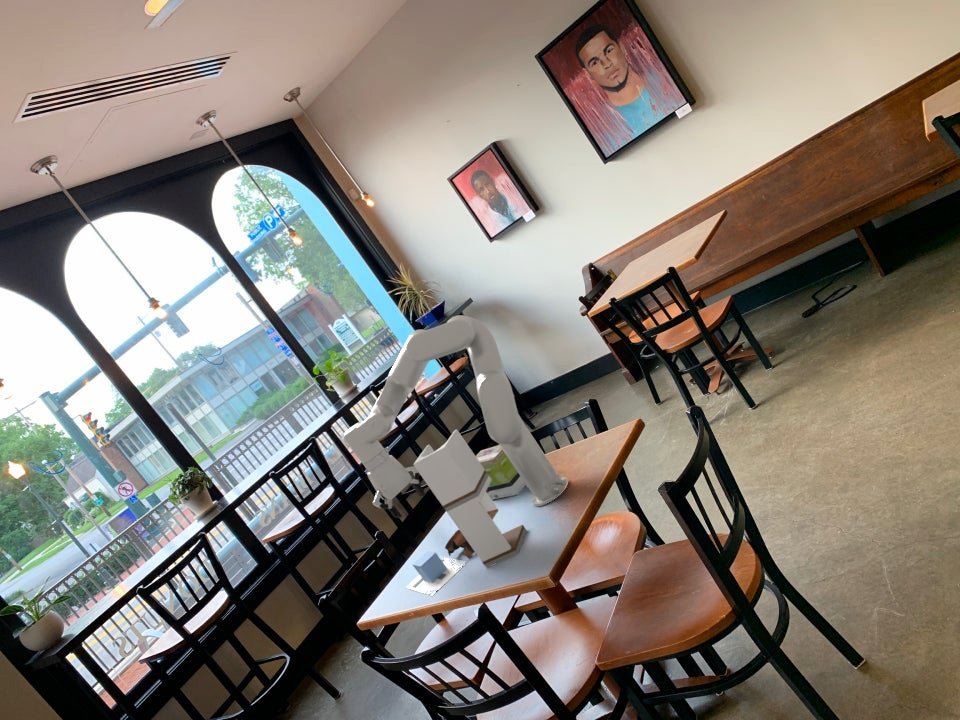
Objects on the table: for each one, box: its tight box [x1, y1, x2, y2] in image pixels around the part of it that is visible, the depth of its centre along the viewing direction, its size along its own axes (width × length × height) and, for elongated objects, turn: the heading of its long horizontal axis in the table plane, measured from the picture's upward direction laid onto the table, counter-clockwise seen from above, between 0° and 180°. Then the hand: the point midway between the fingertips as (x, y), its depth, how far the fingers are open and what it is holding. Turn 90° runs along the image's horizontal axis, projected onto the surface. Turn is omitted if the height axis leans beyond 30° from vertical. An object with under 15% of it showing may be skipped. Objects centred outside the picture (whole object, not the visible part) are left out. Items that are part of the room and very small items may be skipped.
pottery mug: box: [444, 529, 475, 559], centre depth 215 cm, size 12×10×8 cm
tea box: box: [475, 444, 527, 501], centre depth 240 cm, size 15×10×15 cm, turn 49°
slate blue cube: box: [412, 550, 447, 583], centre depth 213 cm, size 6×6×6 cm
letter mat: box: [405, 556, 466, 597], centre depth 214 cm, size 20×14×1 cm
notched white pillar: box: [413, 429, 527, 568], centre depth 198 cm, size 11×11×35 cm
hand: (411, 506), depth 216 cm, fingers open, 9 cm apart
